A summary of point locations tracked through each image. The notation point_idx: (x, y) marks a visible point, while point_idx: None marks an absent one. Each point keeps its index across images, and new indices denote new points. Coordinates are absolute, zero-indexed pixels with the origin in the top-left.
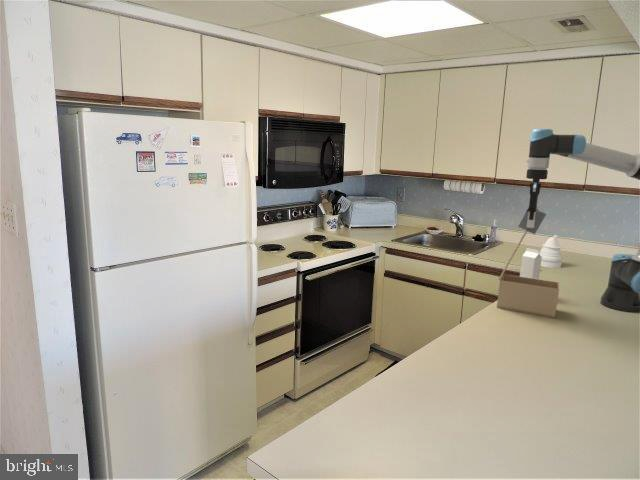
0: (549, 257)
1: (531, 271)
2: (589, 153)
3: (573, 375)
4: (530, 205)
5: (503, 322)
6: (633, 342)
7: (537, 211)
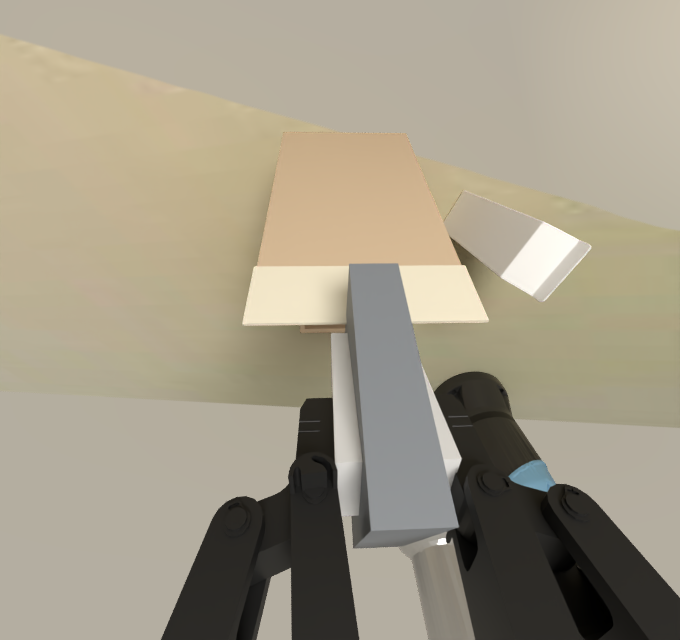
0: None
1: (478, 249)
2: None
3: (8, 327)
4: (182, 615)
5: (175, 176)
6: (256, 404)
7: (359, 532)
